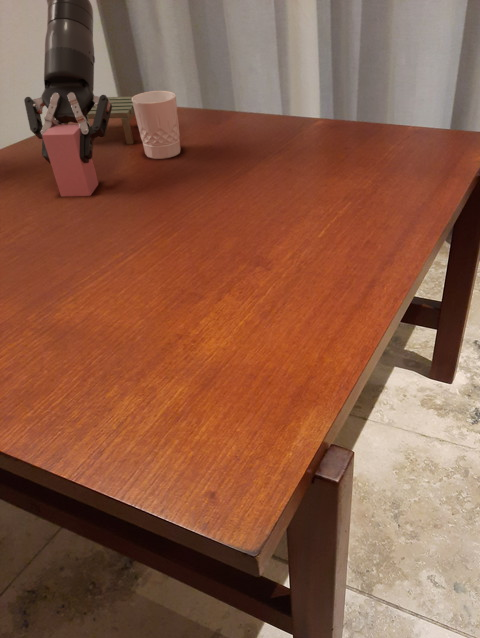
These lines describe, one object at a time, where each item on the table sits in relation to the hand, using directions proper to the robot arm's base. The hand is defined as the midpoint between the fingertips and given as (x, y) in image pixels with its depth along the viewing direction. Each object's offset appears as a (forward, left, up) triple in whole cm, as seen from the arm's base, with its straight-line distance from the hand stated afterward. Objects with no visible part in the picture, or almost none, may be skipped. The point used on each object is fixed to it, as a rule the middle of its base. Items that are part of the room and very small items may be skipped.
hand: (67, 160), depth 89 cm
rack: (-3, +30, -6) cm, 31 cm away
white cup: (+11, +19, -6) cm, 23 cm away
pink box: (0, +2, -6) cm, 6 cm away
